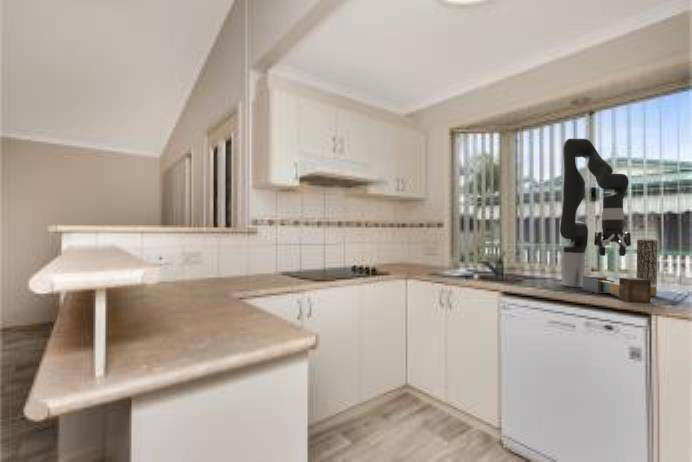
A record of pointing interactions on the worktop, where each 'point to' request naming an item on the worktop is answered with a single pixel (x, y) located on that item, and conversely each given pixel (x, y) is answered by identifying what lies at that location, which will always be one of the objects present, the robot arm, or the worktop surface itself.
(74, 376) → the worktop surface
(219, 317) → the worktop surface
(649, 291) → the socket block
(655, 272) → the bark textured post
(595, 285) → the grey multicoloured box
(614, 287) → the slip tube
